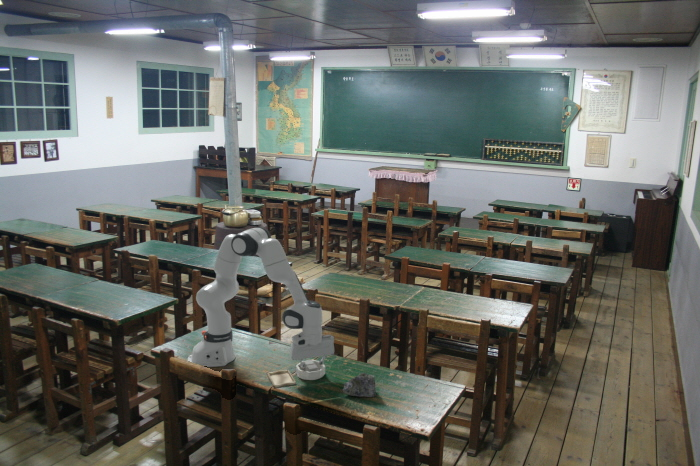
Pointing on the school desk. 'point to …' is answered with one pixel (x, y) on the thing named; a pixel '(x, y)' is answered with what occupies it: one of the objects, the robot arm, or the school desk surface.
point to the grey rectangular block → (312, 368)
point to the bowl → (310, 375)
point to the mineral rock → (361, 386)
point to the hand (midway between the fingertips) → (312, 365)
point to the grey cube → (308, 362)
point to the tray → (281, 378)
